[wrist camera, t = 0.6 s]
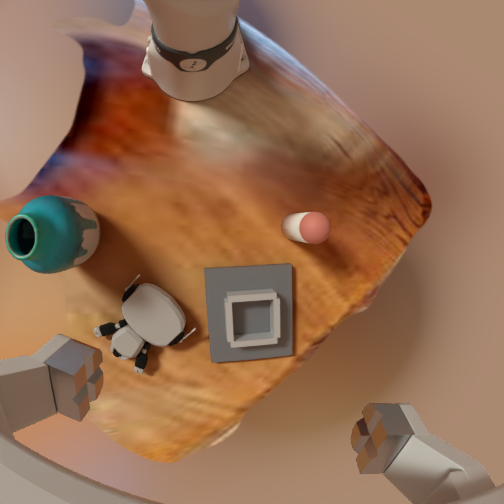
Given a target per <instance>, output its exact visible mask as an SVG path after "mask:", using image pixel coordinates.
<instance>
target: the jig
mask: <svg viewBox="0 0 504 504" xmlns="http://www.w3.org/2000/svg"><path fill="white" fill-rule="evenodd" d="M204 270H205V287H206V302H207V316H208V329H209V341H210V353H211V363H212V362H227V361H240V360H251V359H261V358H271V357H280V356H288V355H292V264H290V263H285V264H268V265H250V266H232V267H213V268H204Z"/></svg>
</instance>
